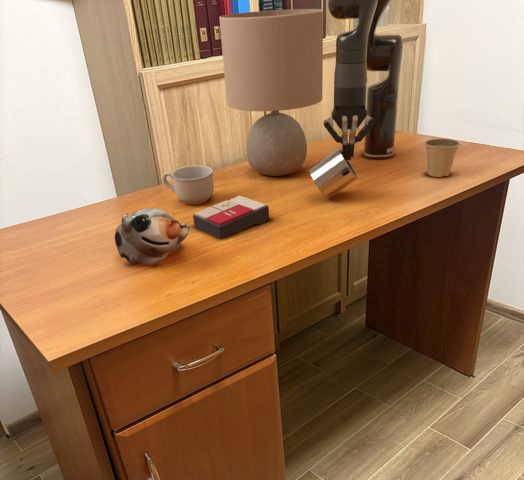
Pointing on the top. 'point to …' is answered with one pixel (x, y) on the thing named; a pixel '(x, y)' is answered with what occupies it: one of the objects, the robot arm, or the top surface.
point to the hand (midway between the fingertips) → (347, 159)
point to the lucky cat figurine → (149, 236)
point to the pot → (333, 173)
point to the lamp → (273, 80)
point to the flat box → (231, 216)
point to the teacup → (191, 183)
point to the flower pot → (440, 156)
